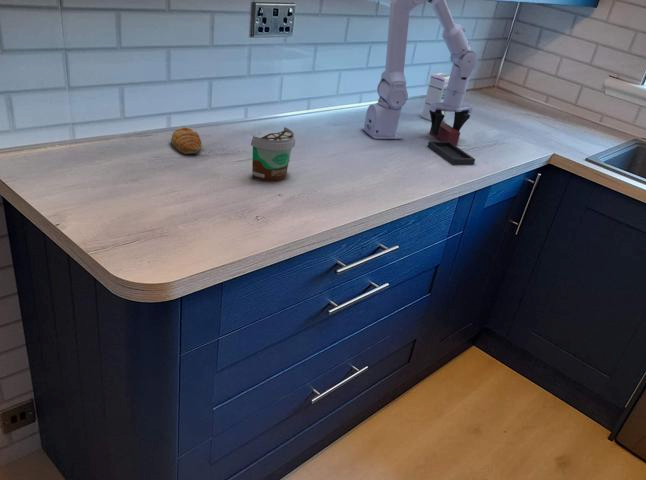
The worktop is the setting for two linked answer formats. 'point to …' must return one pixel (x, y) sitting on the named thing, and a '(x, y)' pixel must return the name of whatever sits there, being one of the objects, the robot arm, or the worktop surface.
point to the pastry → (186, 140)
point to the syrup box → (435, 92)
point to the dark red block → (447, 133)
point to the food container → (272, 155)
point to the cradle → (451, 152)
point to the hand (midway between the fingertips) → (444, 134)
